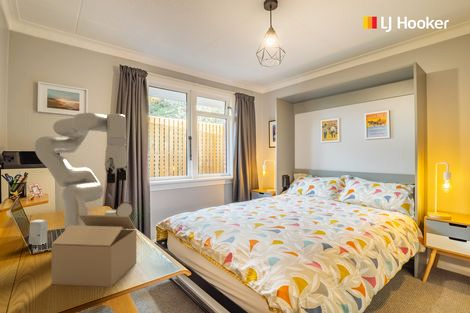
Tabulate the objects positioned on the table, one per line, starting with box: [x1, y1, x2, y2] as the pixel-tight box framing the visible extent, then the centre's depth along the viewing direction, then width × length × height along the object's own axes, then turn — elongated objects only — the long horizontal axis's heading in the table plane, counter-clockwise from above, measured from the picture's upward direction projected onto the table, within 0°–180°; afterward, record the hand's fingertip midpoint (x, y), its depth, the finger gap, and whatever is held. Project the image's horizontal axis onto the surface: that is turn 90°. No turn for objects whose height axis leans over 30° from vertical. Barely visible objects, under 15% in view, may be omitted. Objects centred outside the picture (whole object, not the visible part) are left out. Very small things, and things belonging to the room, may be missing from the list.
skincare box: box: [28, 219, 48, 246], centre depth 117 cm, size 6×4×12 cm
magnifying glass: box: [115, 201, 134, 230], centre depth 125 cm, size 9×2×20 cm, turn 135°
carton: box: [51, 229, 137, 288], centre depth 91 cm, size 22×18×14 cm
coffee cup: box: [104, 209, 117, 216], centre depth 138 cm, size 8×8×12 cm
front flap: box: [51, 225, 123, 246], centre depth 85 cm, size 21×9×1 cm, turn 87°
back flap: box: [78, 214, 137, 230], centre depth 97 cm, size 21×9×1 cm
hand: (117, 181), depth 102 cm, fingers open, 9 cm apart
